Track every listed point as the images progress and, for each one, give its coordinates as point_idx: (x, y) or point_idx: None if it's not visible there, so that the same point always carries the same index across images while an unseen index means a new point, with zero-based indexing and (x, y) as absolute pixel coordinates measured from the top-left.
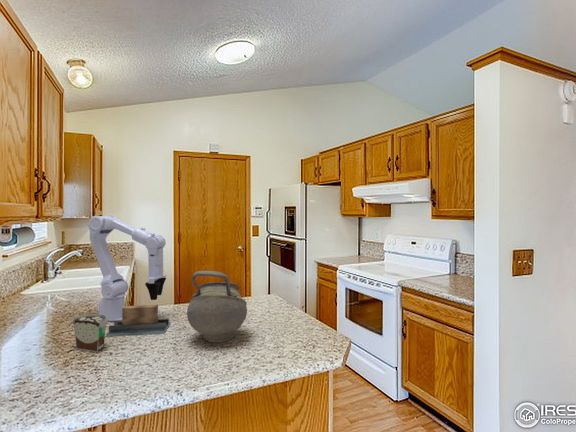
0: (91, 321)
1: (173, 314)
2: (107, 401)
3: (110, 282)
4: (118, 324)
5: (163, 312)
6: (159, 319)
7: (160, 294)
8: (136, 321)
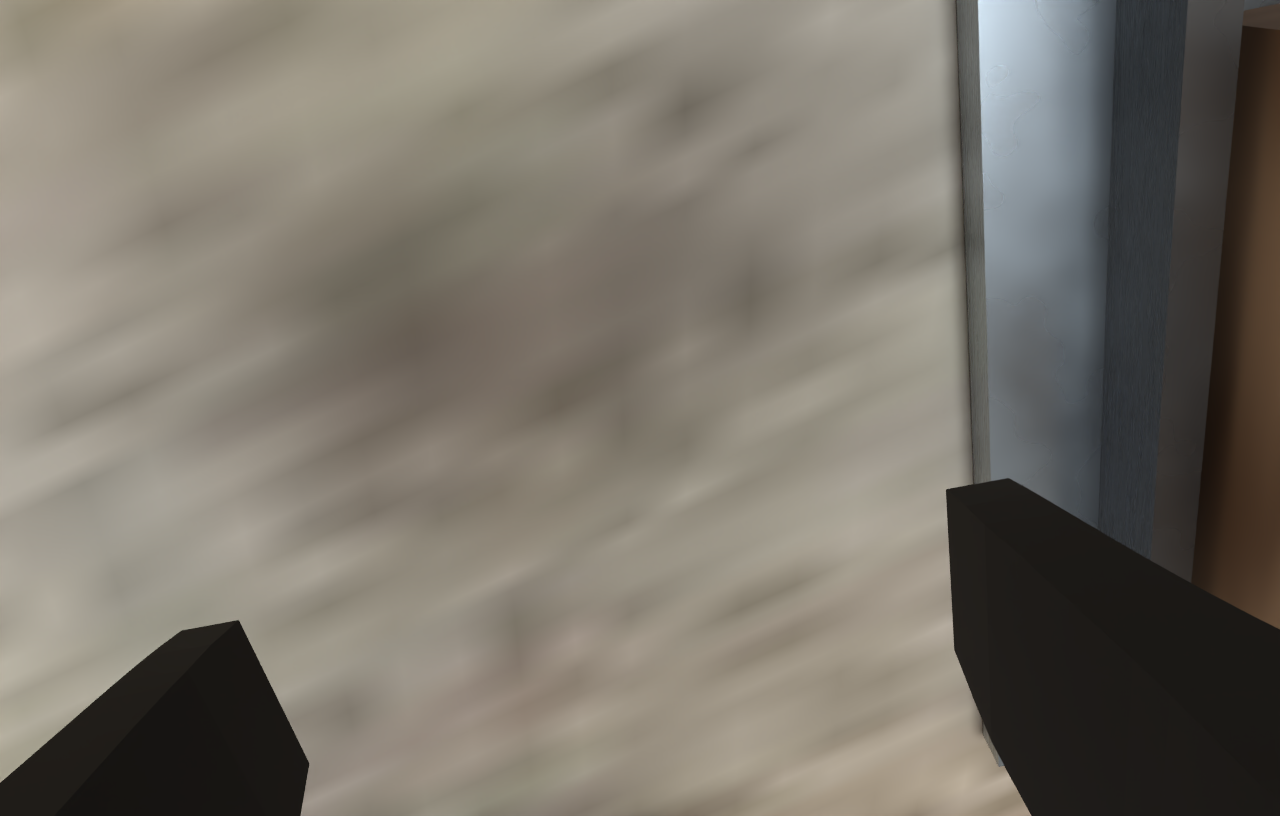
0: None
1: (150, 93)
2: None
3: None
4: None
5: (73, 401)
6: (1210, 23)
7: (230, 656)
8: None
